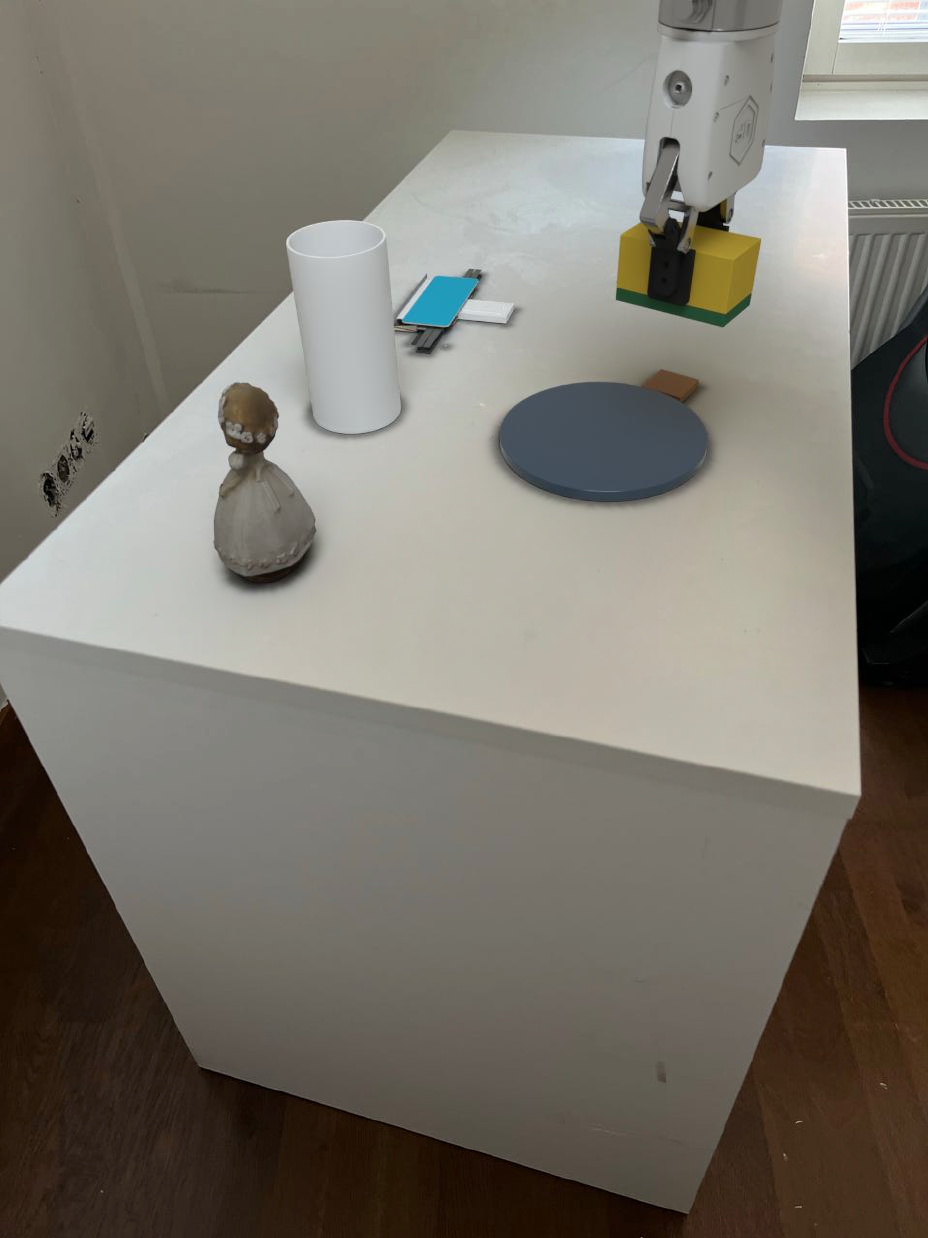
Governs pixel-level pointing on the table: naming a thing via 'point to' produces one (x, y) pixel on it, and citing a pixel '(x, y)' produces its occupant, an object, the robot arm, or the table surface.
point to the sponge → (694, 274)
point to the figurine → (257, 494)
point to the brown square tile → (672, 384)
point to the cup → (346, 324)
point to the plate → (603, 441)
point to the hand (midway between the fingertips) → (684, 285)
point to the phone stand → (445, 308)
